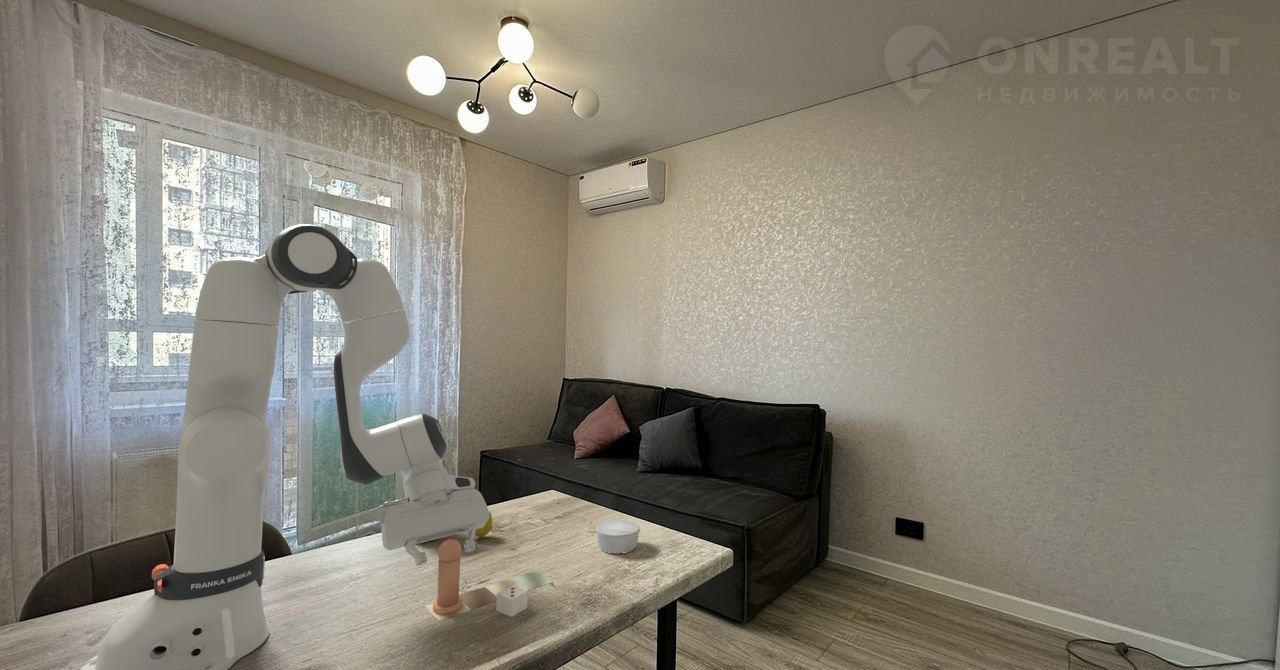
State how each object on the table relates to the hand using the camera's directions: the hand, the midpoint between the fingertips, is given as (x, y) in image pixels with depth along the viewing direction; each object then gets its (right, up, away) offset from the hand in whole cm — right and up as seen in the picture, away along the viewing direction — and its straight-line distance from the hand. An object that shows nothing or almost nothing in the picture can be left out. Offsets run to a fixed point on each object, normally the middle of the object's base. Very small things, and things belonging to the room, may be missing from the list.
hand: (447, 556), depth 97 cm
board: (+7, -10, +4) cm, 13 cm away
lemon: (-5, -11, +35) cm, 37 cm away
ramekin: (+31, -12, +31) cm, 46 cm away
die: (+13, -10, -2) cm, 16 cm away
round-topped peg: (+1, -9, -2) cm, 9 cm away
